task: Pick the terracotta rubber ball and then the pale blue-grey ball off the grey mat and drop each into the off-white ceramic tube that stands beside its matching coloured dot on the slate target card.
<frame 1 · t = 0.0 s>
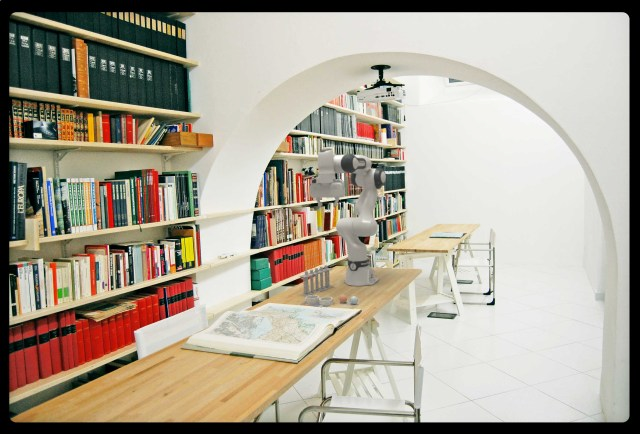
hand: (327, 206, 253), 48 cm above the table, fingers open, 8 cm apart
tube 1: (312, 302, 244), resting on target card
target card: (317, 304, 240), on the table
ball terracotta: (343, 302, 240), resting on grey mat
ball bluegrey: (353, 304, 237), resting on grey mat
test tube rack: (317, 292, 267), on the table
grey mat: (348, 304, 238), on the table
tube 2: (326, 303, 240), resting on target card
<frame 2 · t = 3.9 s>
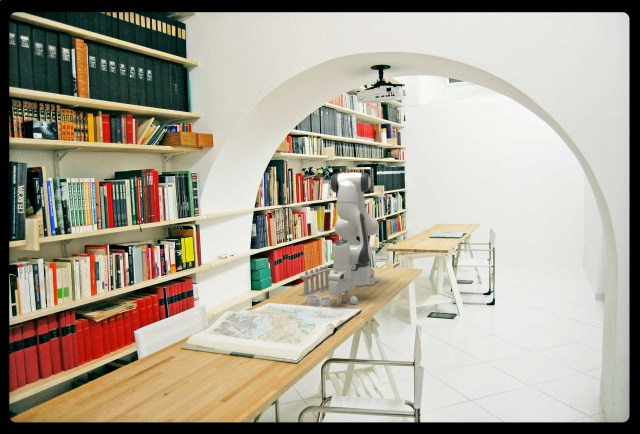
hand: (343, 300, 240), 2 cm above the table, fingers closed on ball terracotta, 4 cm apart
ball terracotta: (343, 302, 240), resting on grey mat, touching gripper
everything else where it was.
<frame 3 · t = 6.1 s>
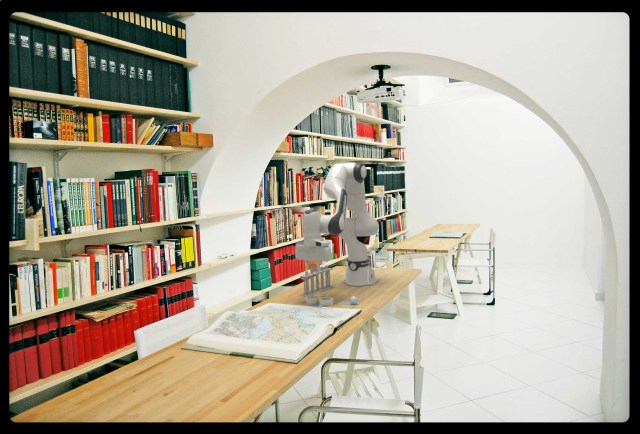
hand: (313, 269, 242), 17 cm above the table, fingers closed on ball terracotta, 4 cm apart
ball terracotta: (313, 271, 242), point 16 cm above the table, touching gripper
everything else where it was.
when the fingers open (4 cm above the table, at t = 8.6 s): ball terracotta drops 2 cm, resting on target card.
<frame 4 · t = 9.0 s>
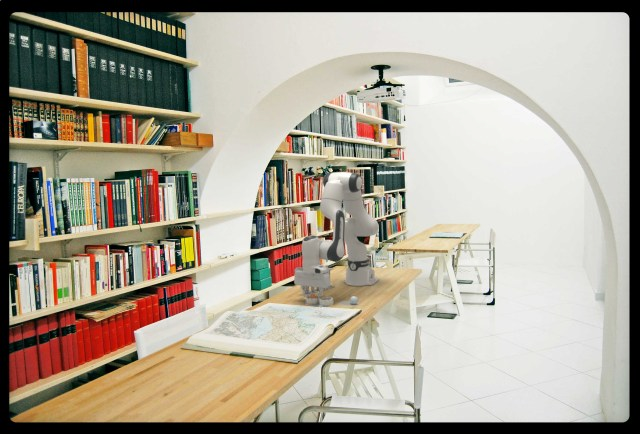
hand: (312, 295, 244), 4 cm above the table, fingers open, 8 cm apart
ball terracotta: (312, 301, 244), resting on target card
everything else where it was.
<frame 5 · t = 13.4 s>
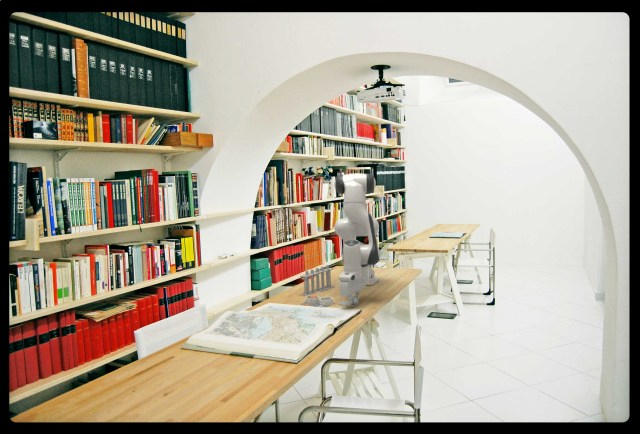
hand: (353, 301, 237), 2 cm above the table, fingers closed on ball bluegrey, 4 cm apart
ball terracotta: (312, 301, 244), resting on target card, tilted 16°
ball bluegrey: (353, 304, 237), resting on grey mat, touching gripper
everything else where it was.
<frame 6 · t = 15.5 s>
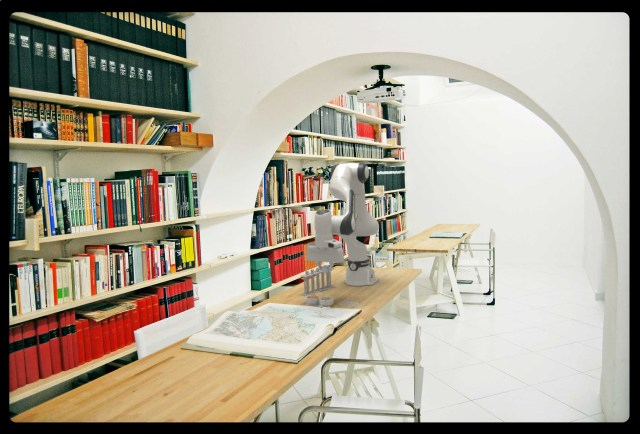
hand: (325, 270, 238), 17 cm above the table, fingers closed on ball bluegrey, 4 cm apart
ball terracotta: (312, 301, 244), resting on target card, tilted 9°
ball bluegrey: (325, 273, 238), point 16 cm above the table, touching gripper
everything else where it was.
when the fingers open (4 cm above the table, at t = 17.9 s): ball bluegrey drops 2 cm, resting on target card.
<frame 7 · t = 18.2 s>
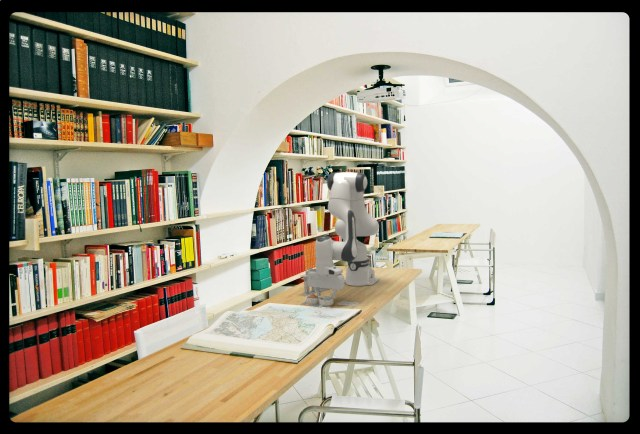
hand: (325, 296, 239), 4 cm above the table, fingers open, 7 cm apart
ball terracotta: (312, 301, 244), resting on target card
ball bluegrey: (326, 303, 240), resting on target card
everything else where it was.
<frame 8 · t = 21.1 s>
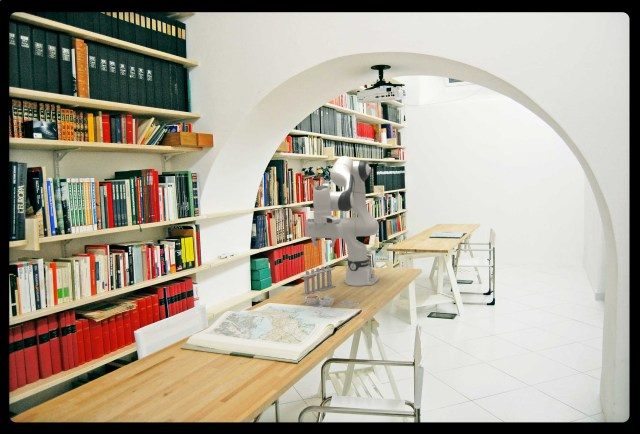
hand: (323, 246, 237), 29 cm above the table, fingers open, 8 cm apart
ball terracotta: (312, 301, 244), resting on target card, tilted 10°
ball bluegrey: (326, 303, 240), point 1 cm above the table, tilted 21°, touching target card
at the end: ball terracotta 0.0 cm off-centre on the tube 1, point 0.0 cm above the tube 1's base; ball bluegrey 0.1 cm off-centre on the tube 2, point 0.1 cm above the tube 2's base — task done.
